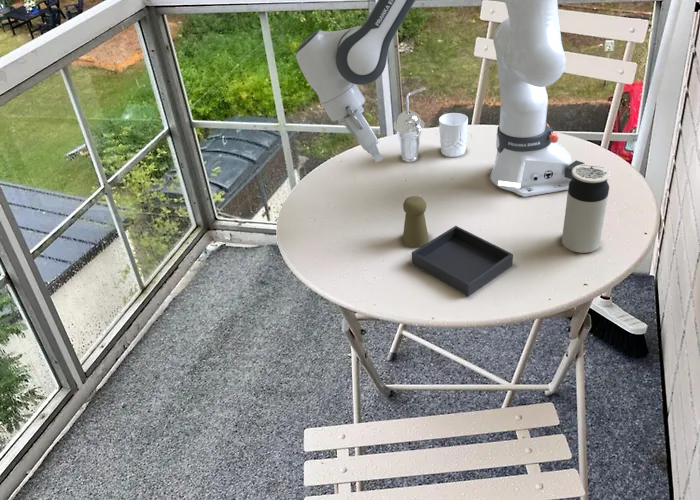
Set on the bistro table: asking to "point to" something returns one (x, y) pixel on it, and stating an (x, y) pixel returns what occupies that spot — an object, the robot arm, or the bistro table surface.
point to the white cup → (453, 134)
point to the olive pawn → (415, 222)
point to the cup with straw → (409, 131)
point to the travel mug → (585, 208)
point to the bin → (462, 260)
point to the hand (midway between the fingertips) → (375, 155)
